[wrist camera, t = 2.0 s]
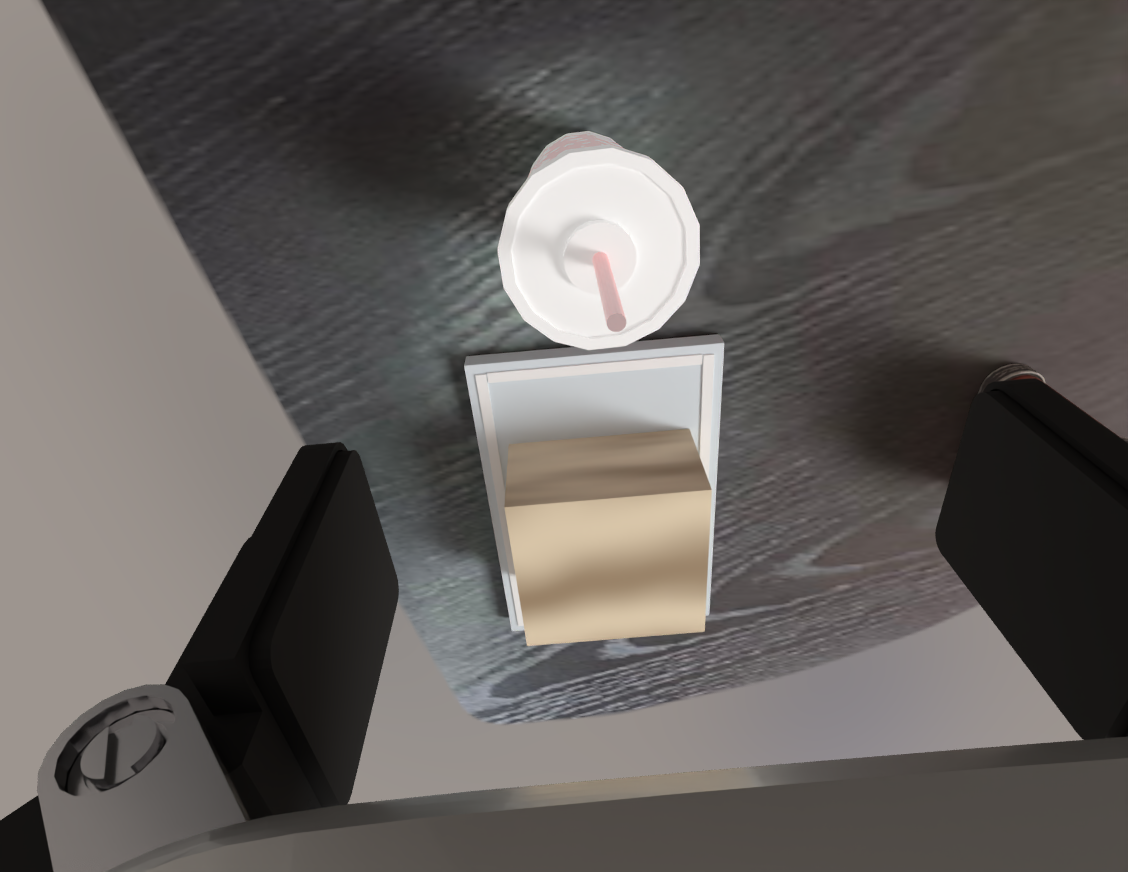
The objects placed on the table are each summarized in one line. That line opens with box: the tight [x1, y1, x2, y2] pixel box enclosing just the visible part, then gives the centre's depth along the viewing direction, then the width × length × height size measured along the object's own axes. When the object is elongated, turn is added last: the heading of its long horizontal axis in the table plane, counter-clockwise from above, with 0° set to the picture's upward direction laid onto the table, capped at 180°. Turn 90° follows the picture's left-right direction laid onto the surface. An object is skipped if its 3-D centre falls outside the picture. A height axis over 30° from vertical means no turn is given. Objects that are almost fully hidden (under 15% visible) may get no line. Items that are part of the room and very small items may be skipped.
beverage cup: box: [498, 131, 700, 350], centre depth 21 cm, size 6×6×14 cm
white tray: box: [464, 334, 724, 631], centre depth 35 cm, size 18×12×1 cm, turn 5°
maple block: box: [504, 429, 712, 646], centre depth 33 cm, size 9×9×5 cm
